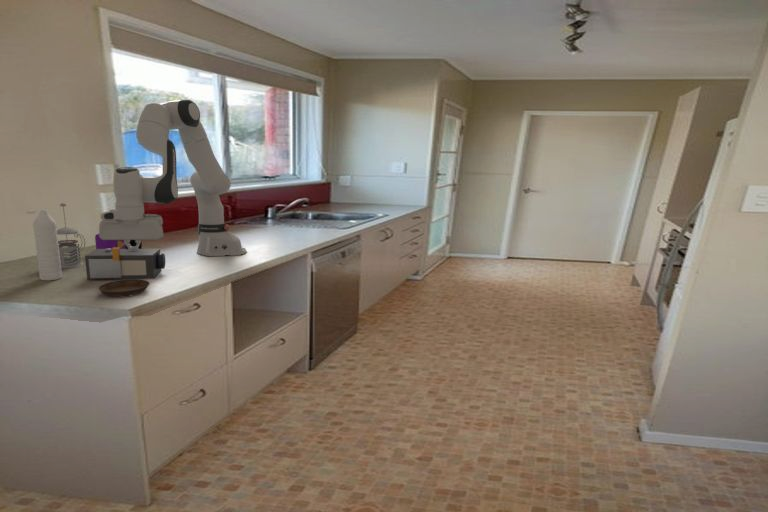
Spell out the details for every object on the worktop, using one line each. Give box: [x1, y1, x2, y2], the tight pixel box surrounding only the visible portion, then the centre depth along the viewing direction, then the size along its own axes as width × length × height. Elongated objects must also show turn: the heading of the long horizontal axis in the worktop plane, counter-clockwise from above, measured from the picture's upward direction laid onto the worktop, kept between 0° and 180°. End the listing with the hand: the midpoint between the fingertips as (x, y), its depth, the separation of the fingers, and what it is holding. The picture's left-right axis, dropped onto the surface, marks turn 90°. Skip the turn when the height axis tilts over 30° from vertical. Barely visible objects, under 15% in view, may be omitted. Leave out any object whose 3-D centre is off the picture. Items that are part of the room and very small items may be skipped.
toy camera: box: [94, 233, 126, 250], centre depth 201 cm, size 11×14×10 cm
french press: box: [56, 202, 86, 269], centre depth 176 cm, size 10×12×25 cm
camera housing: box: [84, 248, 166, 281], centre depth 167 cm, size 24×12×10 cm, turn 103°
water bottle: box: [26, 208, 63, 282], centre depth 155 cm, size 9×6×25 cm
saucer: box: [97, 279, 150, 298], centre depth 148 cm, size 15×15×3 cm
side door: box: [88, 248, 122, 278], centre depth 158 cm, size 10×2×11 cm, turn 103°
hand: (133, 251), depth 160 cm, fingers closed
